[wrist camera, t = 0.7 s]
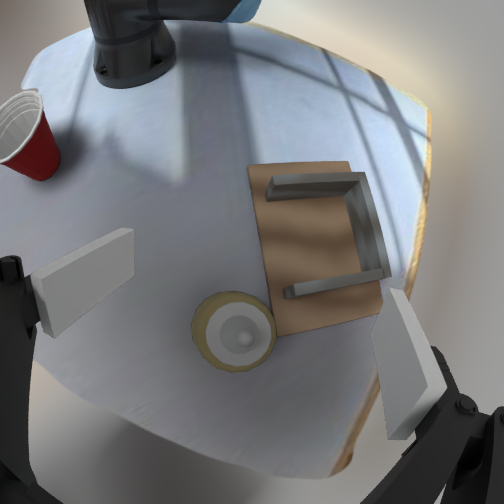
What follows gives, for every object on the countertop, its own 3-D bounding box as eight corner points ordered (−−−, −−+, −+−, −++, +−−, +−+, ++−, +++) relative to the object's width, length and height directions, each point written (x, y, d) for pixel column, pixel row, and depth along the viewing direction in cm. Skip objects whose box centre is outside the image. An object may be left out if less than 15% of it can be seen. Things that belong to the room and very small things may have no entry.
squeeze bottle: (265, 297, 35) (317, 277, 18) (257, 364, 33) (303, 406, 16) (197, 289, 34) (184, 259, 17) (189, 356, 32) (167, 395, 15)
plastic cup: (11, 198, 33) (-32, 164, 21) (32, 139, 35) (0, 97, 24) (63, 198, 34) (21, 157, 22) (83, 134, 36) (55, 84, 25)
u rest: (246, 168, 38) (253, 144, 33) (345, 164, 41) (363, 143, 35) (275, 336, 34) (288, 339, 28) (380, 311, 37) (406, 309, 31)
